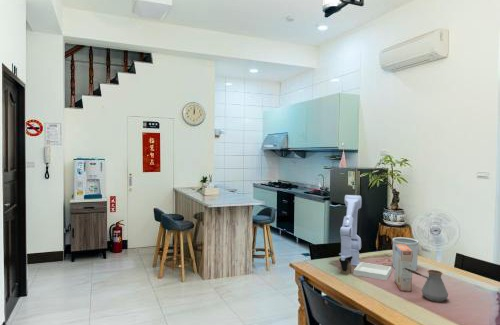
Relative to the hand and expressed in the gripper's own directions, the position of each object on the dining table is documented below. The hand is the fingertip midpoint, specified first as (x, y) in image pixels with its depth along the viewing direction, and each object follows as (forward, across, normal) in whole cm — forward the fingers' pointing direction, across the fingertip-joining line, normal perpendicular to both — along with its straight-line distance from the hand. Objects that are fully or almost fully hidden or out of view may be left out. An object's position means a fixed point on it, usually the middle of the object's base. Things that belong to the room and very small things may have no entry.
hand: (345, 269), depth 207 cm
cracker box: (+2, +7, +32) cm, 33 cm away
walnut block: (+2, 0, 0) cm, 2 cm away
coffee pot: (+2, +19, +43) cm, 47 cm away
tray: (+2, -7, +14) cm, 16 cm away
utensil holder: (+2, -28, +29) cm, 40 cm away
